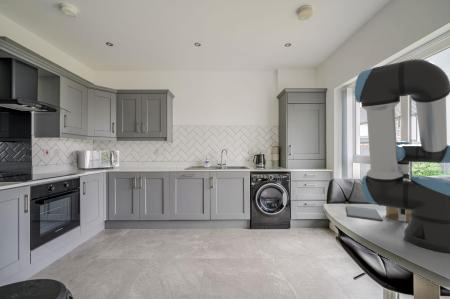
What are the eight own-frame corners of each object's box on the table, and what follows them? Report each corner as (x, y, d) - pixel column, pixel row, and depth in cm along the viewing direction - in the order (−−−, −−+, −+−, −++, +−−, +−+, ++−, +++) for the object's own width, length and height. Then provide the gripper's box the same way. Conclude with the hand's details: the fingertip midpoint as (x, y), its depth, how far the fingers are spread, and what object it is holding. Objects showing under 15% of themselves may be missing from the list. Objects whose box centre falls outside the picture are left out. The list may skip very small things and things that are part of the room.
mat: (382, 221, 99) (382, 219, 99) (348, 216, 105) (348, 214, 105) (375, 210, 116) (375, 209, 116) (346, 207, 123) (346, 205, 123)
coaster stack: (412, 221, 99) (412, 206, 99) (388, 218, 103) (388, 204, 103) (408, 218, 104) (408, 203, 104) (386, 215, 109) (386, 201, 109)
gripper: (417, 175, 92) (416, 226, 92) (402, 171, 113) (402, 212, 113) (395, 174, 95) (395, 223, 95) (384, 170, 116) (384, 210, 116)
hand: (398, 217), depth 104 cm, fingers open, 11 cm apart
